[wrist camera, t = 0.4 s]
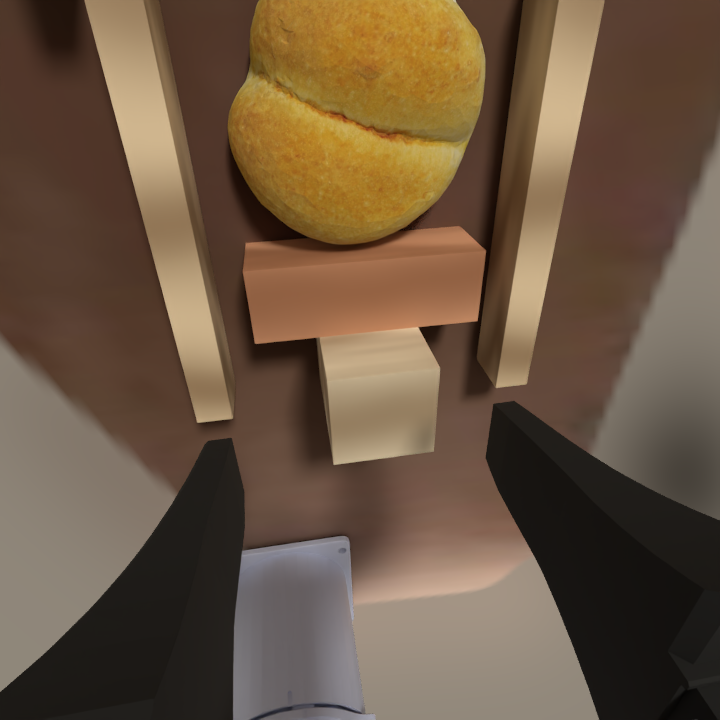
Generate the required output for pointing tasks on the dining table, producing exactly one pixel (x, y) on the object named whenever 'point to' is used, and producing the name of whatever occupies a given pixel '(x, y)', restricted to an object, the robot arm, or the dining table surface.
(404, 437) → the two-tone t block
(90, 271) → the dining table surface
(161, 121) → the slot rails
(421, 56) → the bread roll
